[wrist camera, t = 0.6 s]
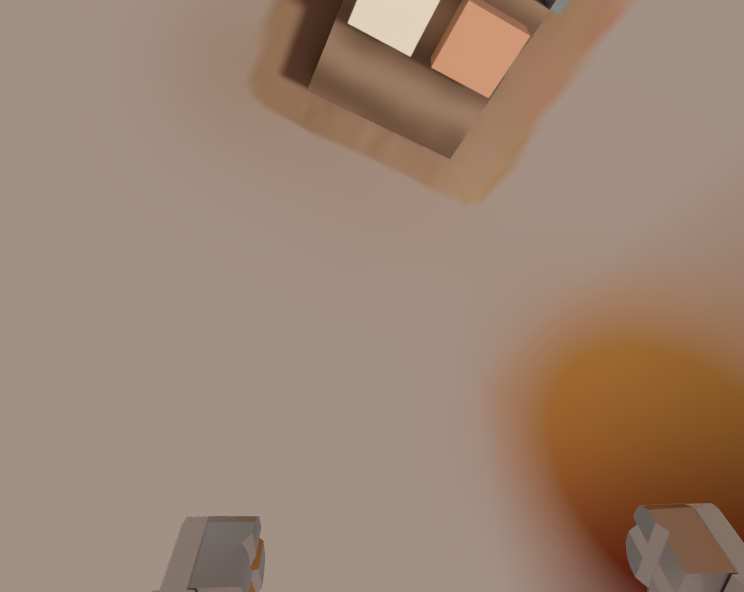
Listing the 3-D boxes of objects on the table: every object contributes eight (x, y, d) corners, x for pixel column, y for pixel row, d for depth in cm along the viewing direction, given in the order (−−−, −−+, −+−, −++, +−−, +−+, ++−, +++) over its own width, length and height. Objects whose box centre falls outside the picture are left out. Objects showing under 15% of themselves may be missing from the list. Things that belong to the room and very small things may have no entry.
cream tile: (380, -59, 43) (379, -52, 41) (445, -21, 44) (446, -13, 42) (350, 13, 46) (347, 23, 45) (410, 46, 48) (410, 56, 46)
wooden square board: (383, -99, 43) (380, -93, 41) (543, -1, 47) (549, 9, 45) (312, 76, 54) (307, 89, 52) (448, 144, 58) (450, 158, 56)
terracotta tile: (467, -9, 45) (468, 0, 43) (526, 25, 46) (530, 36, 44) (430, 56, 49) (431, 67, 47) (486, 86, 50) (488, 98, 48)
